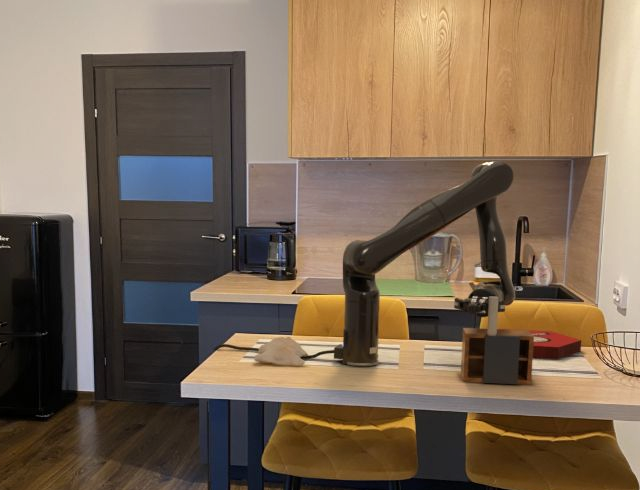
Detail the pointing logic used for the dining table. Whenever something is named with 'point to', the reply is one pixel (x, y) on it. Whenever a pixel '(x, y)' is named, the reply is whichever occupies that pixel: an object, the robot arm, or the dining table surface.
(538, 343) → the plaque
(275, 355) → the arrowhead
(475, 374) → the cupboard
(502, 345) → the sliding door
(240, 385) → the dining table surface
